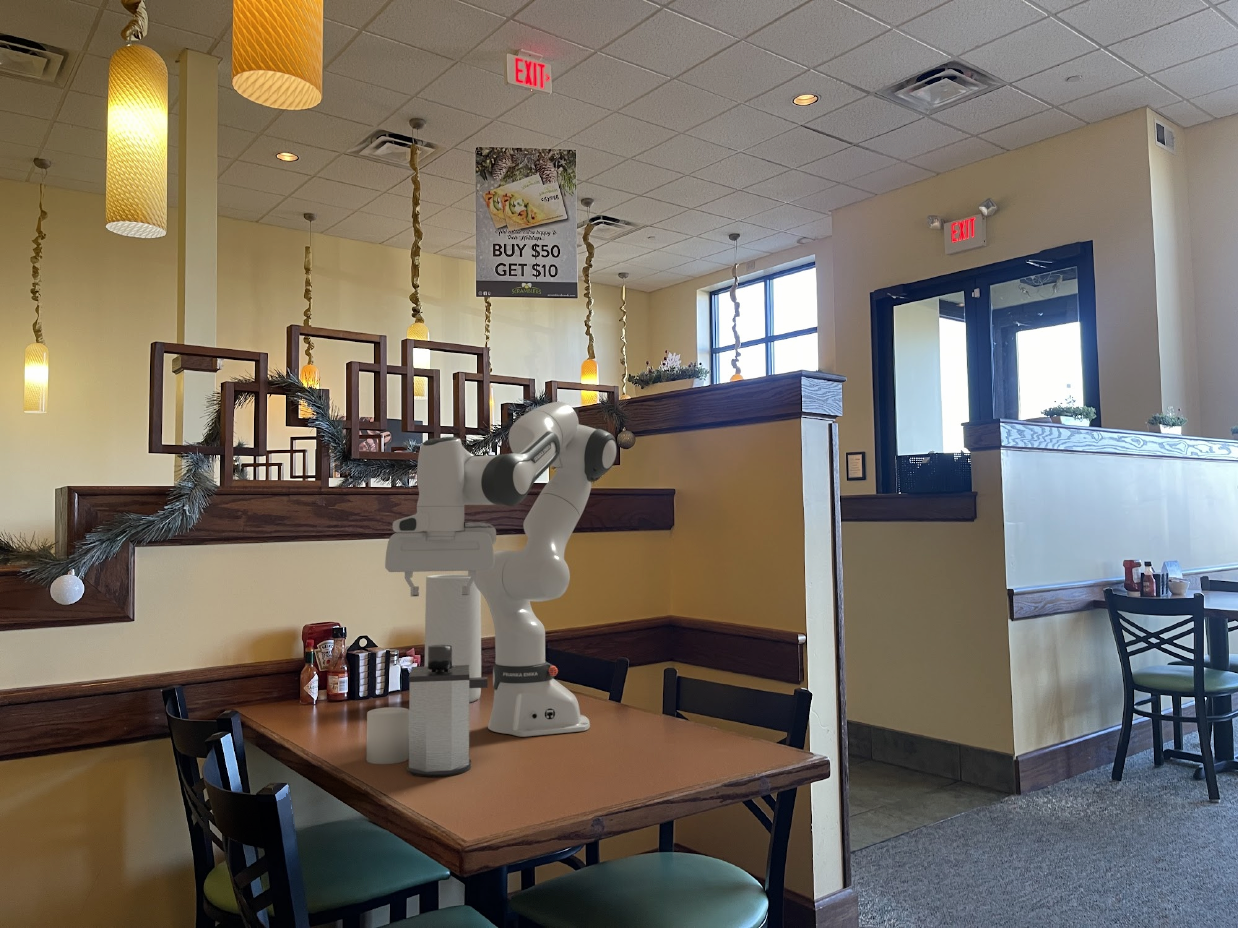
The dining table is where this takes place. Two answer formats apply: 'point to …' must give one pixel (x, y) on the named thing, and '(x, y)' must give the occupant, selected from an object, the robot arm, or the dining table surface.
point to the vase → (455, 622)
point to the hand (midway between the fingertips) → (440, 595)
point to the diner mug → (387, 735)
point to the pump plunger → (439, 657)
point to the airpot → (440, 720)
